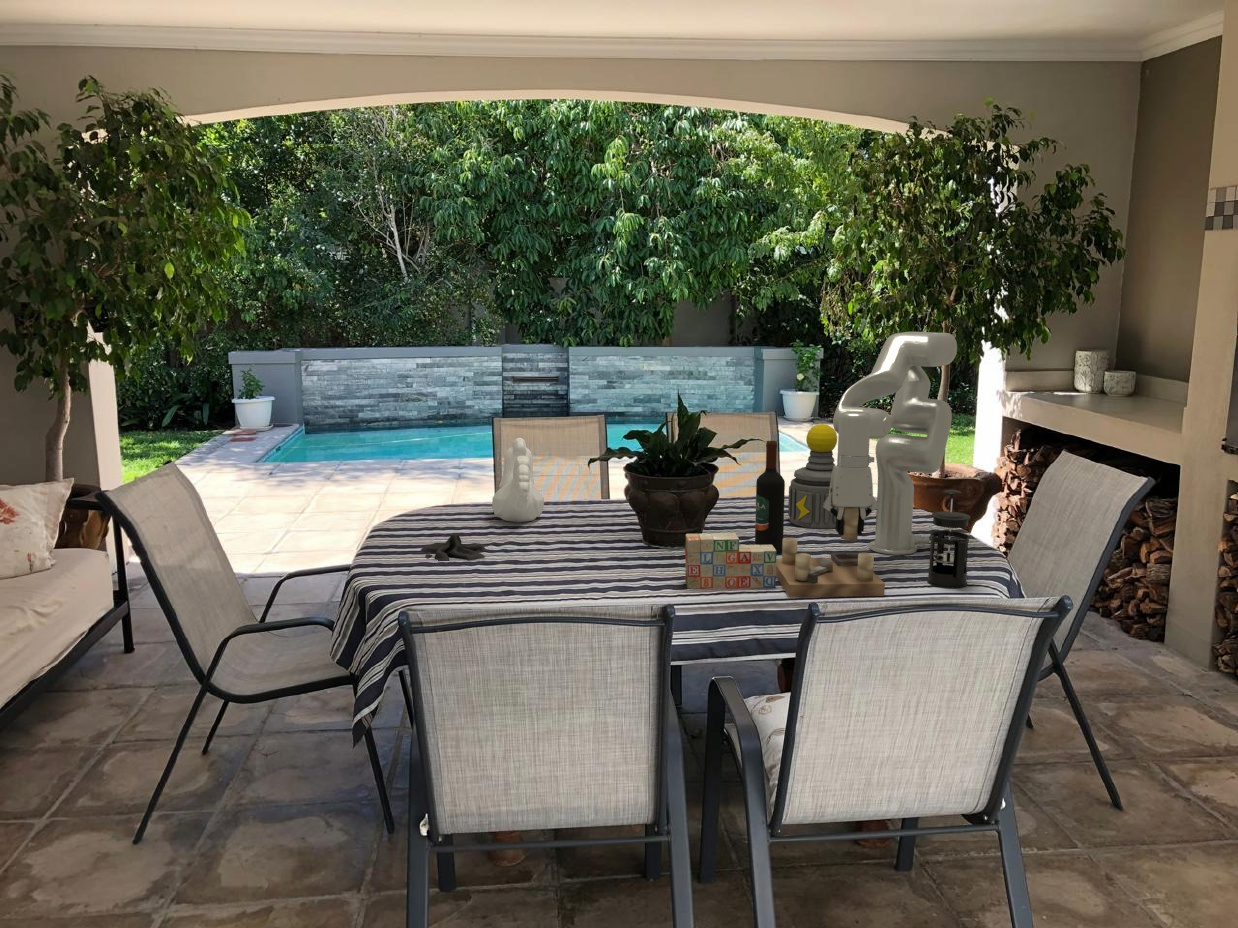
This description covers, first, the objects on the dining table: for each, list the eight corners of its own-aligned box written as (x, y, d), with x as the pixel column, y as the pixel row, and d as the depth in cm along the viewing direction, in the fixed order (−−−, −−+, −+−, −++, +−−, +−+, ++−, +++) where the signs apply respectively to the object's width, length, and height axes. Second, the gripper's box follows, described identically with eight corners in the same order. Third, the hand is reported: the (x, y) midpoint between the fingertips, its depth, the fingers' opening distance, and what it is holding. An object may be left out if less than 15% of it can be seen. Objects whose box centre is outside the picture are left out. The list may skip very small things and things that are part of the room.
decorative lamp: (862, 521, 320) (866, 423, 315) (830, 533, 306) (834, 430, 301) (808, 512, 332) (811, 417, 327) (775, 522, 319) (777, 424, 313)
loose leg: (855, 536, 266) (856, 505, 264) (859, 540, 262) (860, 508, 260) (839, 536, 265) (840, 505, 264) (843, 540, 262) (844, 508, 260)
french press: (919, 577, 262) (923, 486, 258) (954, 575, 264) (959, 485, 259) (941, 591, 251) (946, 496, 246) (977, 589, 252) (984, 495, 248)
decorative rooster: (496, 512, 332) (494, 434, 328) (546, 512, 332) (545, 434, 327) (484, 531, 307) (482, 447, 303) (538, 532, 307) (537, 447, 303)
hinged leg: (823, 566, 260) (823, 544, 259) (836, 569, 257) (836, 546, 256) (791, 578, 249) (792, 555, 248) (804, 581, 247) (805, 558, 246)
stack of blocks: (771, 581, 260) (773, 532, 257) (776, 588, 253) (777, 538, 251) (684, 581, 259) (685, 532, 257) (686, 589, 253) (687, 539, 251)
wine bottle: (782, 555, 283) (785, 444, 277) (753, 553, 284) (756, 443, 279) (783, 547, 290) (786, 439, 284) (755, 546, 291) (758, 438, 286)
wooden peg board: (859, 569, 269) (860, 534, 268) (884, 595, 247) (886, 558, 246) (771, 570, 268) (772, 535, 267) (789, 597, 246) (790, 559, 245)
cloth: (420, 547, 293) (419, 525, 292) (487, 545, 295) (487, 523, 294) (414, 569, 271) (413, 545, 270) (487, 566, 274) (486, 543, 273)
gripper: (882, 459, 264) (878, 530, 267) (815, 459, 264) (812, 530, 267) (890, 464, 257) (887, 537, 260) (822, 464, 256) (819, 537, 259)
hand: (849, 533), depth 263 cm, fingers closed on loose leg, 4 cm apart
